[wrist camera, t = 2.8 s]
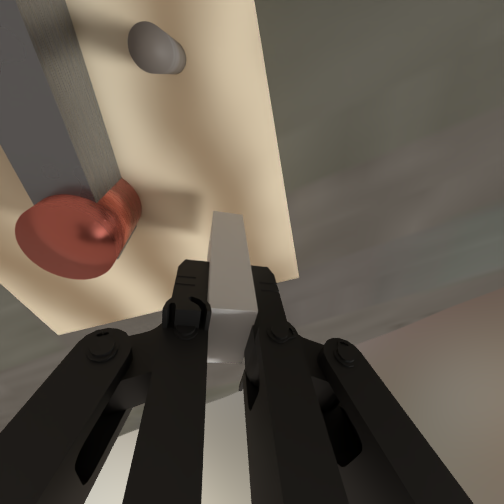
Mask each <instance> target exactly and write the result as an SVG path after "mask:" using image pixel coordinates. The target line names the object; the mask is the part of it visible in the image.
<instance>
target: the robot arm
mask: <svg viewBox="0 0 504 504" xmlns="http://www.w3.org/2000/svg"><path fill="white" fill-rule="evenodd" d="M244 357H245V370H244V373H243V376H242V379H241V382H240V385H239V391H242V389H243V391H244V404H245V418H246V430H247V431H246V432H247V445H248V460H249V474H250V486H251V487H250V488H251V502H252V504H473V502H472V501H471V500H470V498H469V497H468V496H467V494H466V493H465V492H464V490H463V489H462V488H461V486H460V485H459V484H458V482H457V481H456V480H455V478H454V477H453V476H452V474H451V473H450V471H449V470H448V469H447V467H446V466H445V465H444V463H443V462H442V461H441V459H440V458H439V457H438V455H437V454H436V453H435V451H434V450H433V449H432V447H431V446H430V445H429V443H428V442H427V441H426V439H425V438H424V437H423V435H422V434H421V433H420V431H419V430H418V428H417V427H416V426H415V424H414V423H413V422H412V420H411V419H410V418H409V416H407V414H406V412H405V411H404V410H403V408H402V407H401V406H400V404H399V403H398V402H397V400H396V399H395V398H394V396H393V395H392V394H391V392H390V391H389V390H388V388H387V387H386V386H385V384H384V383H383V382H382V380H381V379H380V377H379V376H378V375H377V374H376V372H375V371H374V370H373V368H372V367H371V365H370V364H369V363H368V361H367V360H366V359H365V358H364V356H363V355H362V353H361V352H360V351H359V350H358V349H357V348H356V347H355V346H354V345H353V344H351V343H350V342H348V341H346V340H343V339H340V338H331V339H329V340H327V341H326V343H325V344H324V345H322V344H319V343H317V342H314V341H311V340H308V339H305V338H303V337H301V336H300V335H298V333H297V331H296V329H295V328H294V327H293V326H292V325H291V324H290V323H289V322H287V320H286V316H285V312H284V309H283V305H282V301H281V298H280V294H279V290H278V287H277V283H276V279H275V276H274V274H273V273H272V272H271V270H270V269H269V268H268V267H263V266H253V265H251V264H250V258H249V252H248V246H247V240H246V233H245V227H244V221H243V215H240V214H233V213H226V212H219V211H213V217H212V225H211V232H210V239H209V247H208V254H207V261H198V260H188V259H185V260H184V261H183V262H182V263H181V264H180V265H179V266H178V270H177V275H176V279H175V285H174V288H173V293H172V297H171V298H170V299H169V300H168V301H166V303H165V305H164V307H163V312H162V324H160V325H159V326H158V327H157V328H155V329H153V330H151V331H148V332H145V333H141V334H136V335H131V336H128V335H127V333H126V332H124V331H122V330H119V329H114V328H106V329H101V330H96V331H94V332H92V333H90V334H88V335H86V336H85V337H84V338H83V339H82V340H80V341H79V342H78V343H77V344H76V345H75V347H74V348H73V349H72V350H71V351H70V352H69V354H68V355H67V356H66V357H65V358H64V359H63V361H62V362H61V363H60V364H59V365H58V366H57V368H56V369H55V370H54V371H53V372H52V373H51V375H50V376H49V377H48V378H47V379H46V380H45V382H44V383H43V384H42V385H41V386H40V387H39V389H38V390H37V391H36V392H35V393H34V394H33V396H32V397H31V398H30V399H29V400H28V401H27V403H26V404H25V405H24V406H23V407H22V408H21V410H20V411H19V412H18V413H17V414H16V415H15V417H14V418H13V419H12V420H11V421H10V422H9V424H8V425H7V426H6V427H5V428H4V429H3V431H2V432H1V433H0V504H84V503H85V500H86V498H87V497H88V495H89V493H90V491H91V489H92V487H93V485H94V483H95V481H96V479H97V477H98V475H99V473H100V471H101V469H102V467H103V465H104V463H105V461H106V459H107V457H108V455H109V453H110V451H111V449H112V447H113V445H114V443H115V441H116V439H117V437H118V435H119V433H120V431H121V429H122V427H123V425H124V423H125V421H126V419H127V417H128V416H129V414H130V412H131V410H132V408H133V407H135V406H137V405H140V404H143V403H145V406H144V411H143V415H142V419H141V424H140V428H139V433H138V437H137V441H136V446H135V451H134V455H133V459H132V463H131V468H130V473H129V477H128V481H127V485H126V490H125V494H124V499H123V503H122V504H201V494H202V470H203V447H204V423H205V401H206V377H207V362H211V363H242V361H243V358H244Z"/></svg>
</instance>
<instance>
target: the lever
mask: <svg viewBox="0 0 504 504" xmlns="http://www.w3.org/2000/svg"><path fill="white" fill-rule="evenodd" d="M0 145H1V147H2V149H3V151H4V152H5V154H6V156H7V158H8V160H9V161H10V163H11V165H12V167H13V169H14V170H15V172H16V174H17V176H18V178H19V179H20V181H21V183H22V185H23V187H24V188H25V190H26V192H27V194H28V196H29V197H30V199H31V201H32V203H33V205H34V206H32V207H31V208H29V209H28V210H26V211H25V212H24V213H23V214H21V215H20V217H19V218H18V220H17V222H16V225H15V236H16V240H17V243H18V245H19V247H20V248H21V250H22V251H23V252H24V254H25V255H26V256H27V257H28V258H29V259H30V260H31V261H32V262H33V263H35V264H36V265H38V266H39V267H41V268H42V269H44V270H46V271H48V272H50V273H52V274H55V275H57V276H60V277H64V278H69V279H77V280H86V279H92V278H96V277H99V276H101V275H103V274H105V273H106V272H108V271H109V270H110V269H111V267H112V266H113V264H114V263H115V261H116V259H119V257H120V256H121V254H122V252H123V250H124V249H125V247H126V245H127V243H128V241H129V240H130V238H131V236H132V234H133V233H134V231H135V229H136V227H137V223H138V221H139V219H140V217H141V213H142V205H141V201H140V198H139V196H138V194H137V192H136V191H135V189H134V188H133V187H132V186H131V185H130V184H129V183H128V182H127V181H126V180H124V179H123V178H122V177H121V174H120V171H119V168H118V165H117V161H116V158H115V155H114V152H113V149H112V146H111V143H110V139H109V136H108V133H107V130H106V127H105V124H104V121H103V117H102V114H101V111H100V108H99V105H98V102H97V99H96V95H95V92H94V89H93V86H92V83H91V80H90V77H89V73H88V70H87V67H86V64H85V61H84V58H83V55H82V51H81V48H80V45H79V42H78V39H77V36H76V33H75V30H74V26H73V23H72V20H71V17H70V14H69V11H68V8H67V4H66V1H65V0H0Z"/></svg>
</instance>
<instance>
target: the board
mask: <svg viewBox="0 0 504 504" xmlns="http://www.w3.org/2000/svg"><path fill="white" fill-rule="evenodd" d="M65 1H66V4H67V8H68V11H69V14H70V17H71V20H72V23H73V26H74V30H75V33H76V36H77V39H78V42H79V45H80V48H81V51H82V55H83V58H84V61H85V64H86V67H87V70H88V73H89V77H90V80H91V83H92V86H93V89H94V92H95V95H96V99H97V102H98V105H99V108H100V111H101V114H102V117H103V121H104V124H105V127H106V130H107V133H108V136H109V139H110V143H111V146H112V149H113V152H114V155H115V158H116V161H117V165H118V168H119V171H120V174H121V177H122V178H123V179H124V180H126V181H127V182H128V183H129V184H130V185H131V186H132V187H133V188H134V189H135V191H136V192H137V194H138V196H139V198H140V201H141V205H142V213H141V217H140V219H139V221H138V223H137V227H136V229H135V231H134V233H133V234H132V236H131V238H130V240H129V241H128V243H127V245H126V247H125V249H124V250H123V252H122V254H121V256H120V257H119V259H116V261H115V263H114V264H113V266H112V267H111V269H110V270H109V271H108V272H106V273H105V274H103V275H101V276H99V277H96V278H92V279H86V280H77V279H69V278H64V277H60V276H57V275H55V274H52V273H50V272H48V271H46V270H44V269H42V268H41V267H39V266H38V265H36V264H35V263H33V262H32V261H31V260H30V259H29V258H28V257H27V256H26V255H25V254H24V252H23V251H22V250H21V248H20V247H19V245H18V243H17V240H16V236H15V225H16V222H17V220H18V218H19V217H20V215H21V214H23V213H24V212H25V211H26V210H28V209H29V208H31V207H32V206H34V205H33V203H32V201H31V199H30V197H29V196H28V194H27V192H26V190H25V188H24V187H23V185H22V183H21V181H20V179H19V178H18V176H17V174H16V172H15V170H14V169H13V167H12V165H11V163H10V161H9V160H8V158H7V156H6V154H5V152H4V151H3V149H2V147H1V145H0V283H1V284H2V285H3V286H4V287H5V288H6V289H7V290H8V291H10V292H11V293H12V294H13V295H14V296H15V297H16V298H17V299H18V300H20V301H21V302H22V303H23V304H24V305H25V306H26V307H27V308H29V309H30V310H31V311H32V312H33V313H34V314H35V315H36V316H37V317H39V318H40V319H41V320H42V321H43V322H44V323H45V324H46V325H48V326H49V327H50V328H51V329H52V330H53V331H54V332H55V333H56V334H58V335H61V334H65V333H69V332H73V331H77V330H82V329H86V328H90V327H94V326H98V325H103V324H107V323H111V322H115V321H119V320H123V319H128V318H132V317H136V316H140V315H144V314H149V313H153V312H157V311H161V310H163V307H164V305H165V303H166V301H168V300H169V299H170V298H171V297H172V293H173V288H174V285H175V279H176V275H177V270H178V266H179V265H180V264H181V263H182V262H183V261H184V260H185V259H188V260H198V261H207V254H208V247H209V239H210V232H211V225H212V217H213V211H219V212H226V213H233V214H240V215H243V221H244V227H245V233H246V240H247V246H248V252H249V258H250V264H251V265H253V266H263V267H268V268H269V269H270V270H271V272H272V273H273V274H274V276H275V279H276V283H278V282H282V281H287V280H291V279H295V278H299V274H298V268H297V262H296V256H295V250H294V243H293V237H292V231H291V225H290V219H289V213H288V206H287V200H286V194H285V188H284V182H283V176H282V169H281V163H280V157H279V151H278V145H277V139H276V132H275V126H274V120H273V114H272V108H271V101H270V95H269V89H268V83H267V77H266V71H265V64H264V58H263V52H262V46H261V40H260V34H259V27H258V21H257V15H256V9H255V3H254V0H65Z"/></svg>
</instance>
